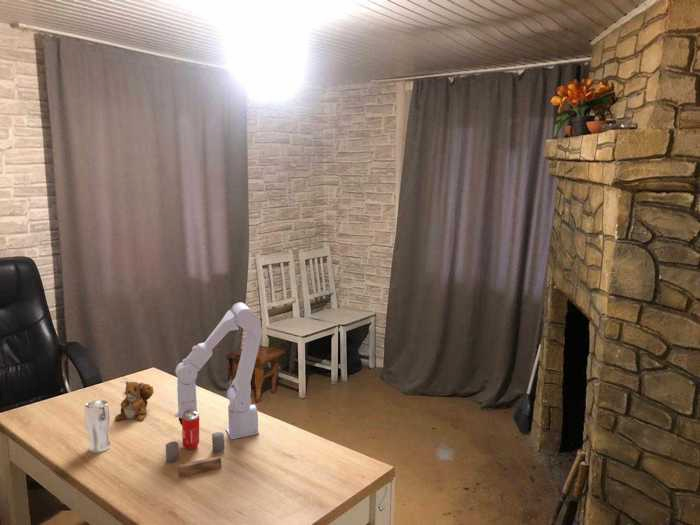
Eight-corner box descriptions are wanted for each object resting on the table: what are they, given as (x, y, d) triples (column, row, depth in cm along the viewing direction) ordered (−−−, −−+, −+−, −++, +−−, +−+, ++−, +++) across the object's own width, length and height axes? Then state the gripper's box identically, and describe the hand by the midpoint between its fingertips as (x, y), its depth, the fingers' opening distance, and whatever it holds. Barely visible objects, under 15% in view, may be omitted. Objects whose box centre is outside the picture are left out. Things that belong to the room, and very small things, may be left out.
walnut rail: (220, 464, 164) (219, 455, 163) (221, 467, 162) (220, 458, 162) (178, 474, 159) (178, 465, 158) (179, 477, 157) (179, 467, 157)
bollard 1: (177, 455, 169) (177, 440, 168) (179, 461, 166) (178, 446, 165) (165, 458, 168) (164, 443, 167) (167, 463, 164) (166, 448, 163)
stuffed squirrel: (112, 422, 191) (109, 386, 188) (133, 404, 204) (131, 371, 202) (139, 424, 189) (136, 388, 187) (158, 406, 203) (156, 373, 201)
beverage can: (194, 451, 172) (194, 422, 167) (179, 448, 172) (179, 418, 167) (202, 440, 176) (202, 411, 171) (187, 436, 177) (186, 408, 172)
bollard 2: (222, 445, 175) (222, 431, 174) (225, 450, 172) (224, 436, 171) (211, 448, 173) (210, 433, 173) (213, 453, 170) (213, 438, 169)
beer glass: (116, 445, 175) (113, 401, 172) (98, 455, 169) (94, 410, 166) (101, 440, 178) (97, 397, 175) (83, 450, 172) (78, 406, 169)
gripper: (171, 392, 179) (173, 430, 181) (177, 410, 166) (179, 451, 168) (193, 388, 182) (194, 426, 184) (201, 406, 169) (202, 446, 171)
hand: (189, 438), depth 177 cm, fingers closed, pressing on beverage can
